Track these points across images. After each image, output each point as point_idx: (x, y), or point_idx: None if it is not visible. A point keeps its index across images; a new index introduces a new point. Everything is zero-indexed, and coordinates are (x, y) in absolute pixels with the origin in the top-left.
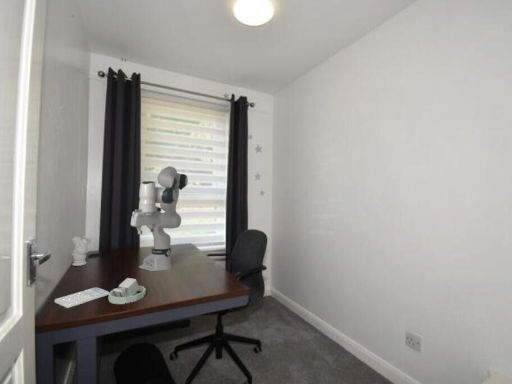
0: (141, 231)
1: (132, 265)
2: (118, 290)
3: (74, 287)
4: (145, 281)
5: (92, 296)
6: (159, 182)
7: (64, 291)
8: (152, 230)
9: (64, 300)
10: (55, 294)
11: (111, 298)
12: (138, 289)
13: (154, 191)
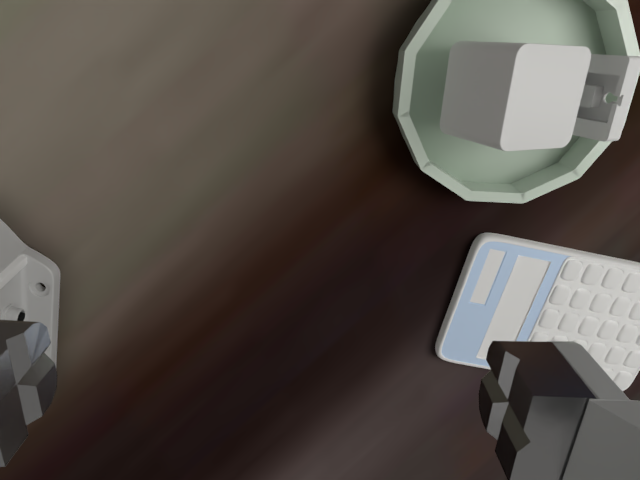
0: (573, 383)
1: (24, 473)
2: (628, 89)
3: (446, 451)
4: (219, 187)
5: (569, 264)
6: None
7: None
8: (8, 358)
9: (632, 344)
10: None
11: None
12: (465, 41)
13: None
